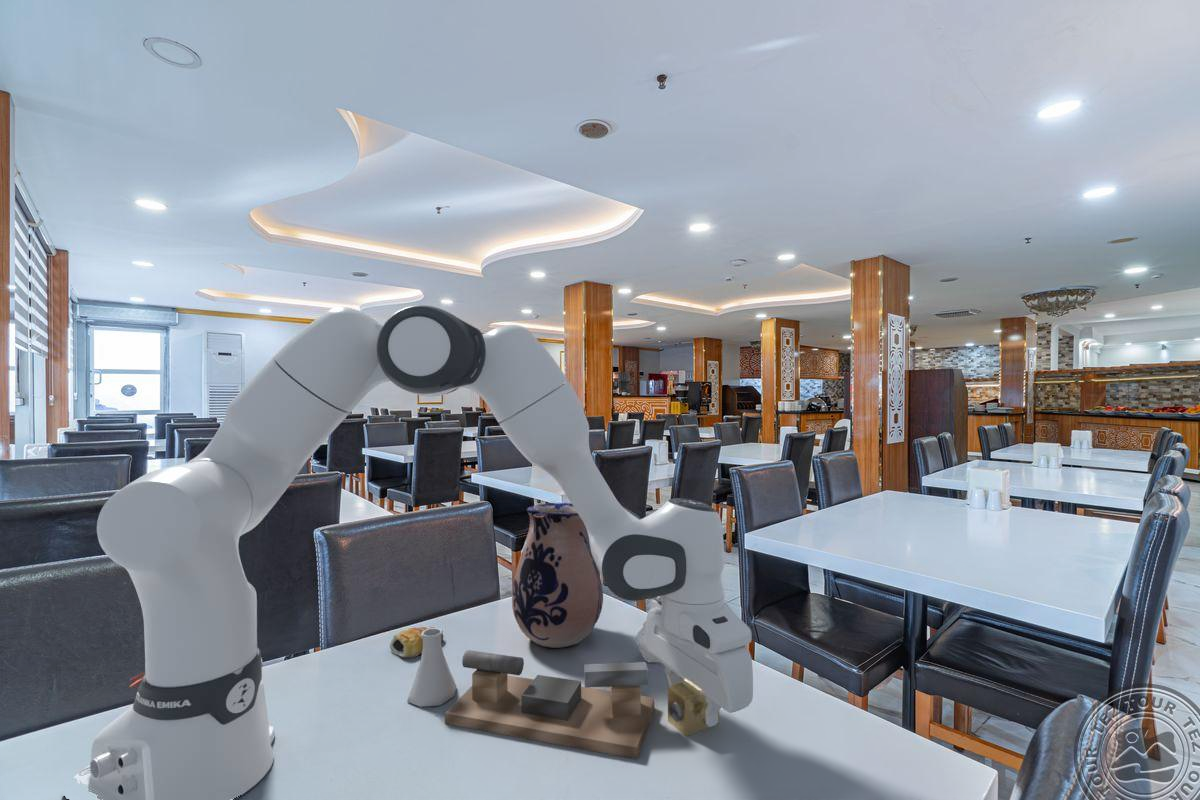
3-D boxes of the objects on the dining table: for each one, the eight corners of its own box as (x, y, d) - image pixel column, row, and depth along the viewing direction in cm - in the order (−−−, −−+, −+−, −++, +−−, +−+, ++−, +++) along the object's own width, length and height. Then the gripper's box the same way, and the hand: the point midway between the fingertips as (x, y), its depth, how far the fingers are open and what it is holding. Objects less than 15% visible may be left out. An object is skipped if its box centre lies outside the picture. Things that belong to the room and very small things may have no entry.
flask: (442, 711, 81) (442, 644, 81) (398, 706, 82) (398, 640, 82) (464, 685, 88) (463, 624, 88) (423, 681, 90) (422, 620, 89)
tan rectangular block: (683, 737, 75) (683, 701, 74) (666, 722, 78) (666, 687, 78) (720, 723, 78) (720, 688, 78) (702, 709, 81) (702, 675, 81)
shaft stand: (445, 723, 78) (444, 669, 78) (485, 681, 89) (485, 634, 89) (637, 759, 70) (636, 699, 70) (654, 707, 81) (654, 656, 81)
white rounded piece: (628, 659, 97) (628, 619, 96) (649, 647, 101) (649, 609, 101) (657, 671, 92) (657, 629, 92) (677, 658, 97) (677, 618, 97)
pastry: (430, 634, 108) (430, 615, 108) (451, 644, 103) (451, 624, 103) (386, 652, 100) (386, 631, 100) (407, 663, 96) (407, 642, 96)
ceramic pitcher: (493, 649, 101) (493, 513, 100) (548, 608, 120) (547, 494, 120) (580, 667, 94) (579, 522, 94) (623, 620, 113) (622, 500, 113)
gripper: (634, 594, 85) (635, 682, 85) (723, 646, 67) (724, 758, 68) (667, 587, 88) (668, 672, 88) (761, 635, 70) (761, 742, 71)
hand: (693, 710), depth 78 cm, fingers open, 6 cm apart
